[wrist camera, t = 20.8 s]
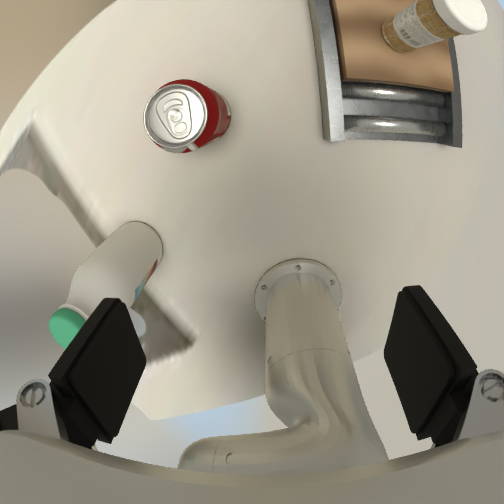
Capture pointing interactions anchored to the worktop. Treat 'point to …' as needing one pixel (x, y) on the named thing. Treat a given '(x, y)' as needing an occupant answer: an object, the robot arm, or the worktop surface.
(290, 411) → the robot arm
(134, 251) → the milk bottle
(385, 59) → the slab
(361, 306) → the worktop surface
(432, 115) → the roller track
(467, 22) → the sprinkles bottle
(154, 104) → the soda can
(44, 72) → the worktop surface
